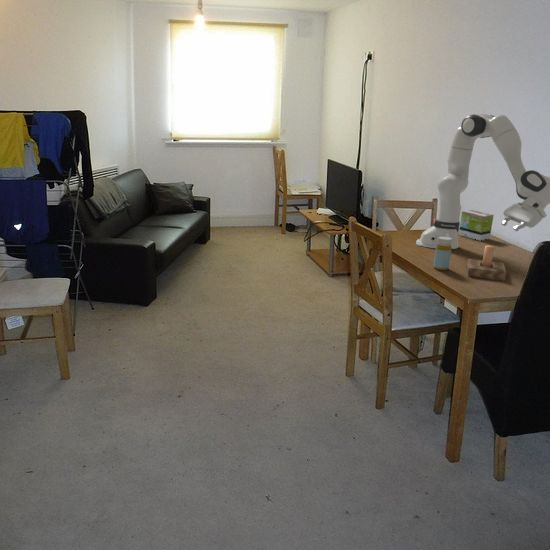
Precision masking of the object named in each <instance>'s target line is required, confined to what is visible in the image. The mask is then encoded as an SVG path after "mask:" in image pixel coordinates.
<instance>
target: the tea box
mask: <svg viewBox="0 0 550 550" xmlns="http://www.w3.org/2000/svg"><path fill="white" fill-rule="evenodd" d="M493 220H494V214H490V213H487V212H482V211H478V210H473V209H470V210H465V211H464V210H463V211H462V212H461V215H460V221H459V222H460V226H459V231H458V236H462V237H465V238H468V239H472V240H475V239H476V241H478V240H479V241H478V242H482V241H486V240H485V239H487V240H489V238H491V234H492V226H493ZM481 240H482V241H481Z"/></svg>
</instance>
